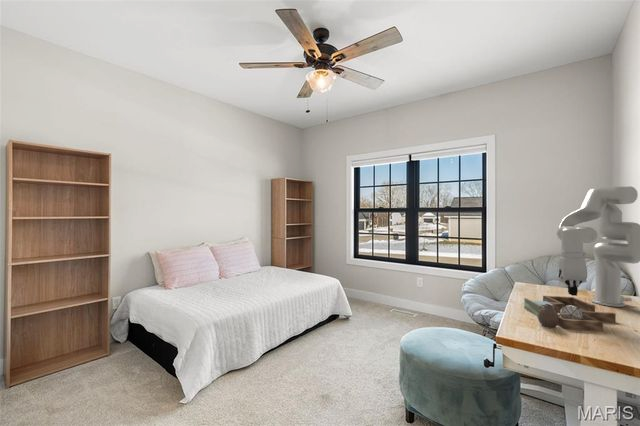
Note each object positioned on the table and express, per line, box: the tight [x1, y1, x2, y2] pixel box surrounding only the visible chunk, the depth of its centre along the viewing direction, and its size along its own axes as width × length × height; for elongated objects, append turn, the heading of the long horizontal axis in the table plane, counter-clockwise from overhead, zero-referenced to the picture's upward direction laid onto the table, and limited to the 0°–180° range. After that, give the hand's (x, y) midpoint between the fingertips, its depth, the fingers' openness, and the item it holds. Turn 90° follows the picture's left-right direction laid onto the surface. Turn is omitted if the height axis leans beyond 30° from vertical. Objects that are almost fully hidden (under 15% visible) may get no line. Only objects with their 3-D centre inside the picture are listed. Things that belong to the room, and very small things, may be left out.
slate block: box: [533, 300, 554, 308], centre depth 137 cm, size 6×6×5 cm
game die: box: [558, 303, 584, 320], centre depth 125 cm, size 9×8×10 cm
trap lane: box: [523, 295, 617, 332], centre depth 136 cm, size 30×38×5 cm
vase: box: [537, 304, 559, 329], centre depth 122 cm, size 7×7×9 cm
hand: (572, 294), depth 136 cm, fingers closed
